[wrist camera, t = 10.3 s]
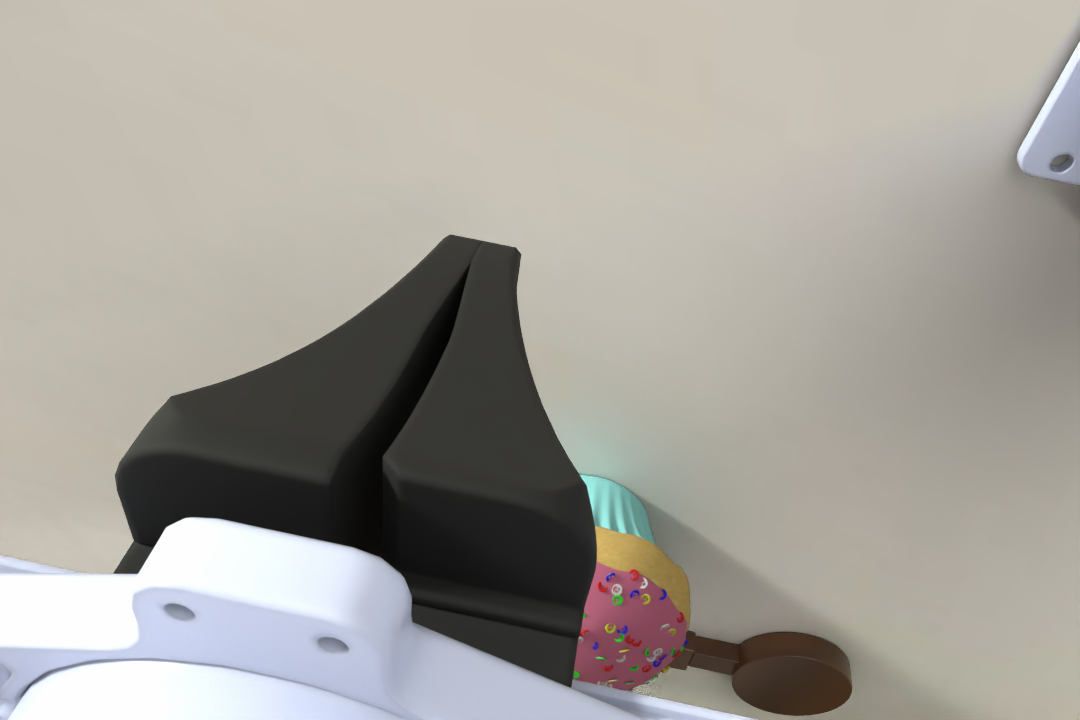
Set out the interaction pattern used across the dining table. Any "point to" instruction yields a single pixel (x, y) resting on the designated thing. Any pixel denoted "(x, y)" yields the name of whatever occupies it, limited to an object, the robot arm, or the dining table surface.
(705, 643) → the spoon
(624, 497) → the cupcake
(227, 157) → the dining table surface
